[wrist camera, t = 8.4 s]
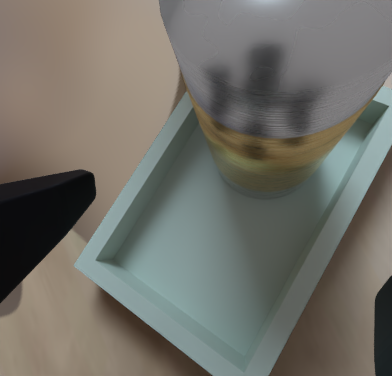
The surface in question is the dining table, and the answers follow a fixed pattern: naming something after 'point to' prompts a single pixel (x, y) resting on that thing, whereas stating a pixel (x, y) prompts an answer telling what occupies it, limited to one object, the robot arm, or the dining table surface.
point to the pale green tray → (228, 242)
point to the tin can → (278, 80)
